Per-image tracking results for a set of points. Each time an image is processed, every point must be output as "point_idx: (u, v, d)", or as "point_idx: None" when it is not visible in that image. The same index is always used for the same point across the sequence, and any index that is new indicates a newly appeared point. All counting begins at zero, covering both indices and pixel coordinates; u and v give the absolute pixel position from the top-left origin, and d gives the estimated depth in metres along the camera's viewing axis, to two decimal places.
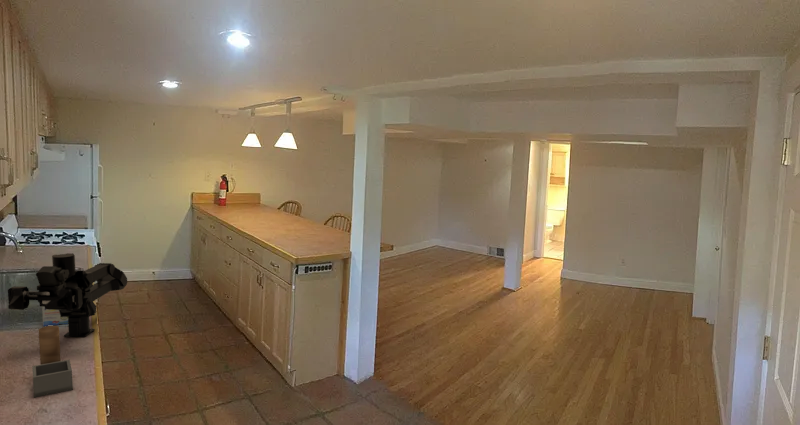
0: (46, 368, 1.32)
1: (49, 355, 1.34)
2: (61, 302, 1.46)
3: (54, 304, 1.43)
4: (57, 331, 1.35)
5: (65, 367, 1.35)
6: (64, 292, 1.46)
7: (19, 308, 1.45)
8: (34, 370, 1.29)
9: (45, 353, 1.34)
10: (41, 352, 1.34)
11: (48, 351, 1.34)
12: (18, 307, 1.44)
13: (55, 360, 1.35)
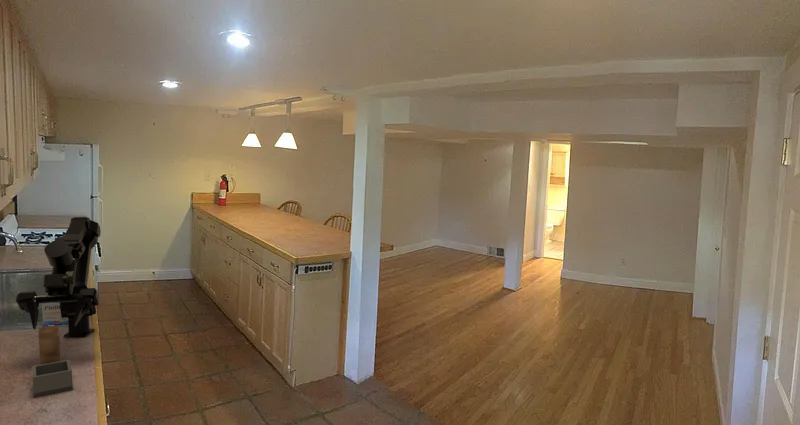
0: (46, 368, 1.32)
1: (49, 355, 1.34)
2: (82, 307, 1.46)
3: (79, 316, 1.43)
4: (57, 331, 1.35)
5: (65, 367, 1.35)
6: (83, 300, 1.44)
7: (37, 316, 1.42)
8: (34, 370, 1.29)
9: (45, 353, 1.34)
10: (41, 352, 1.34)
11: (47, 351, 1.34)
12: (37, 317, 1.42)
13: (55, 360, 1.35)
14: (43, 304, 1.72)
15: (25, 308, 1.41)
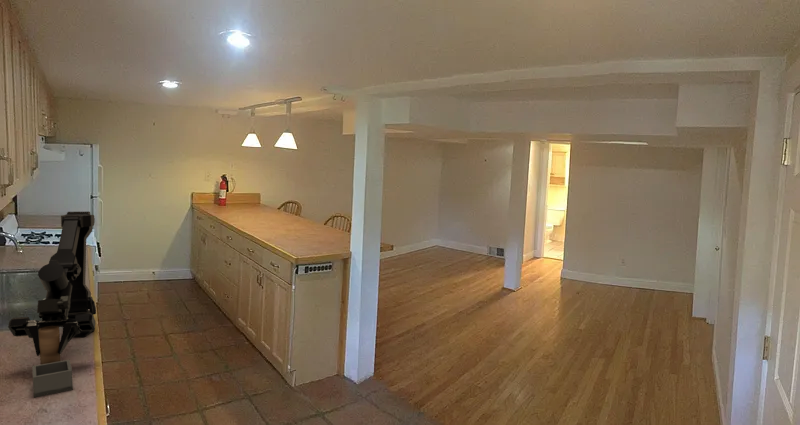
0: (46, 368, 1.32)
1: (49, 355, 1.34)
2: (68, 334, 1.39)
3: (65, 343, 1.37)
4: (57, 331, 1.35)
5: (65, 367, 1.35)
6: (69, 327, 1.38)
7: None
8: (34, 370, 1.29)
9: (45, 353, 1.34)
10: (41, 352, 1.34)
11: (48, 351, 1.34)
12: None
13: (55, 360, 1.35)
14: None
15: (28, 334, 1.37)
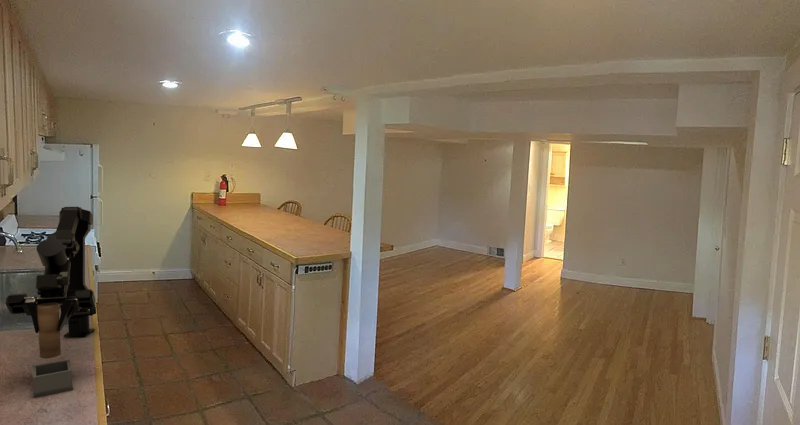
0: (46, 368, 1.32)
1: (48, 332, 1.29)
2: (67, 311, 1.35)
3: (64, 321, 1.33)
4: (56, 307, 1.31)
5: (65, 367, 1.35)
6: (69, 303, 1.33)
7: None
8: (34, 370, 1.29)
9: (45, 329, 1.29)
10: (40, 329, 1.29)
11: (47, 328, 1.29)
12: None
13: (54, 337, 1.31)
14: None
15: (26, 311, 1.32)
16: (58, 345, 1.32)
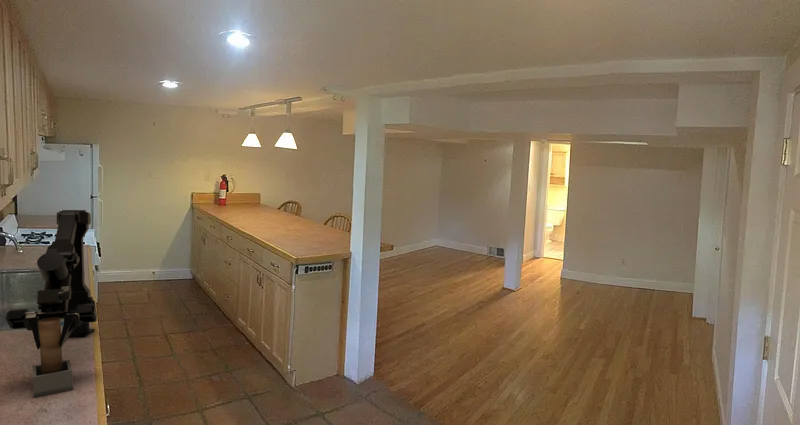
0: None
1: (50, 347, 1.28)
2: None
3: (66, 336, 1.31)
4: (58, 323, 1.29)
5: (65, 367, 1.35)
6: (70, 318, 1.32)
7: None
8: (34, 370, 1.29)
9: (46, 345, 1.27)
10: (42, 345, 1.27)
11: (49, 344, 1.27)
12: None
13: (56, 353, 1.29)
14: None
15: (27, 326, 1.30)
16: (60, 361, 1.30)
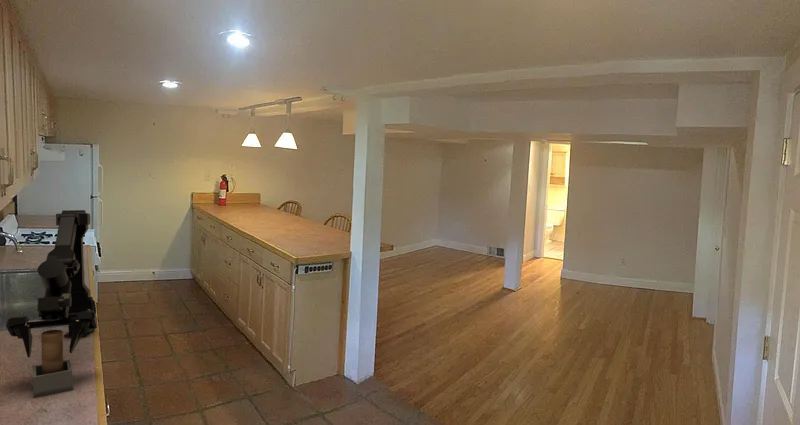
0: None
1: (52, 360, 1.28)
2: None
3: (75, 342, 1.32)
4: (60, 335, 1.29)
5: (65, 367, 1.35)
6: (80, 325, 1.33)
7: (31, 342, 1.30)
8: (34, 370, 1.29)
9: (48, 358, 1.28)
10: (43, 357, 1.28)
11: (50, 356, 1.28)
12: (31, 343, 1.30)
13: (58, 366, 1.29)
14: None
15: (17, 334, 1.29)
16: None
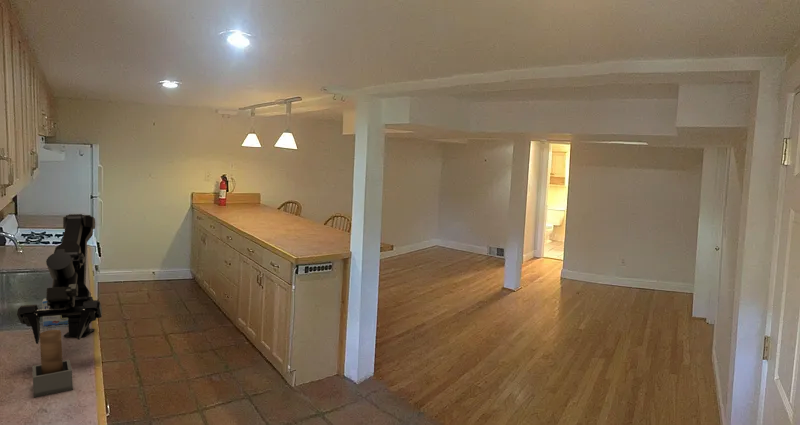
0: None
1: (51, 360, 1.28)
2: (85, 320, 1.43)
3: (83, 329, 1.41)
4: (59, 335, 1.29)
5: (65, 367, 1.35)
6: (87, 313, 1.41)
7: (39, 330, 1.39)
8: (34, 370, 1.29)
9: (47, 358, 1.28)
10: (43, 357, 1.28)
11: (50, 357, 1.28)
12: (39, 331, 1.38)
13: (57, 366, 1.29)
14: (43, 304, 1.72)
15: (26, 322, 1.38)
16: None
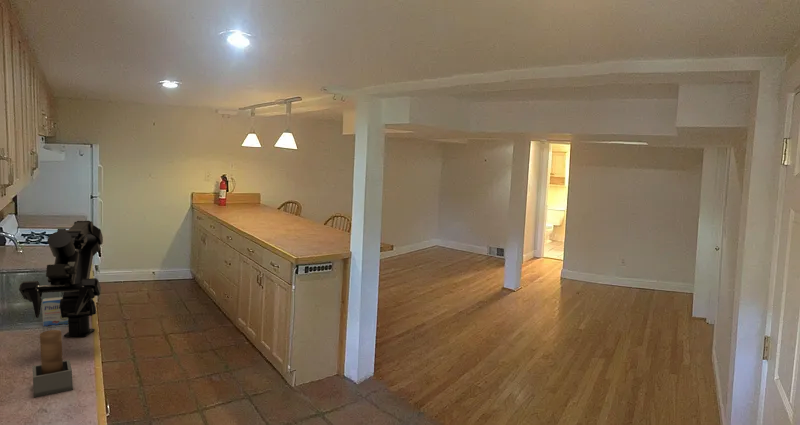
0: None
1: (51, 361, 1.28)
2: (84, 297, 1.49)
3: (81, 306, 1.46)
4: (59, 336, 1.29)
5: (65, 367, 1.35)
6: (85, 290, 1.47)
7: (40, 305, 1.45)
8: (34, 370, 1.29)
9: (48, 359, 1.28)
10: (43, 358, 1.28)
11: (50, 357, 1.28)
12: (40, 306, 1.45)
13: (57, 366, 1.29)
14: (43, 304, 1.72)
15: (28, 297, 1.45)
16: None
